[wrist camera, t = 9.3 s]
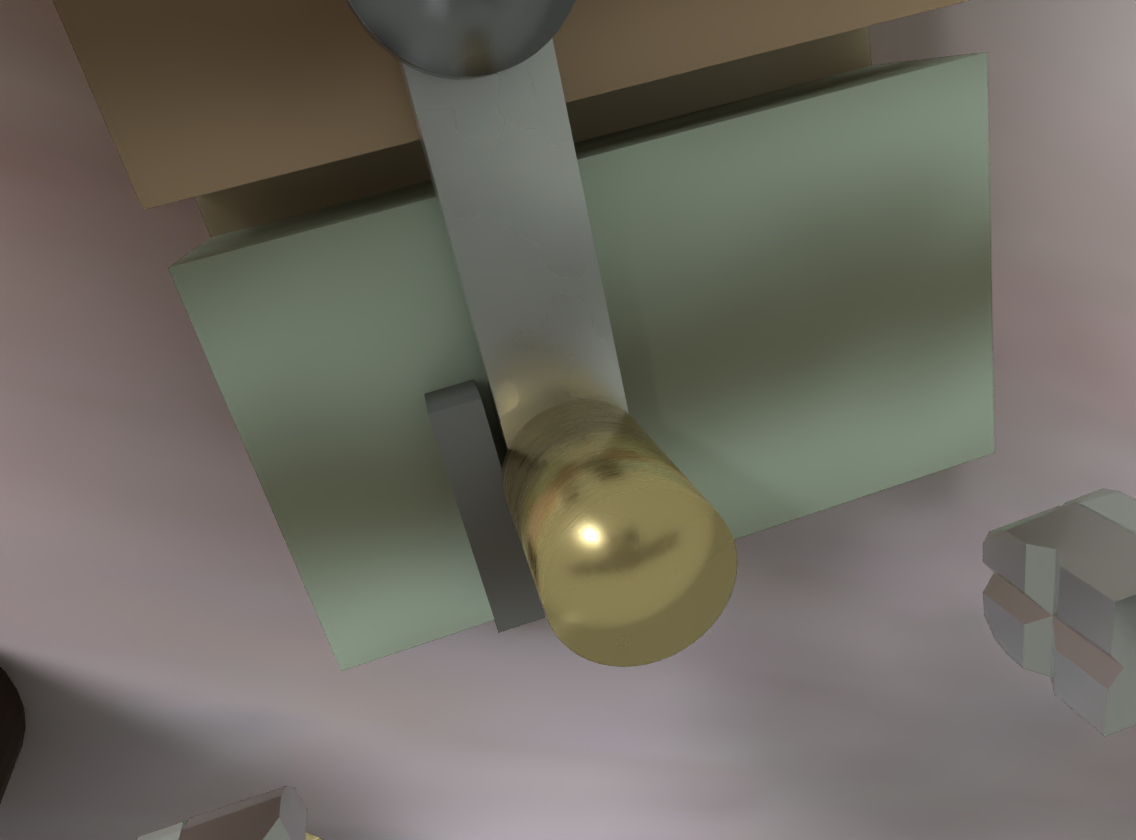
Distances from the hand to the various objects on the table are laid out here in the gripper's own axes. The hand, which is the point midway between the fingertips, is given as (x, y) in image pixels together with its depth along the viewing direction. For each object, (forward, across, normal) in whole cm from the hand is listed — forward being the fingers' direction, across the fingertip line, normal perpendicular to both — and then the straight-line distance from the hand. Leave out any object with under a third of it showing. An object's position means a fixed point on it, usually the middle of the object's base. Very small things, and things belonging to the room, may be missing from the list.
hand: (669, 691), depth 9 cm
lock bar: (+8, -1, -4) cm, 9 cm away
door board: (+14, -3, -4) cm, 15 cm away
